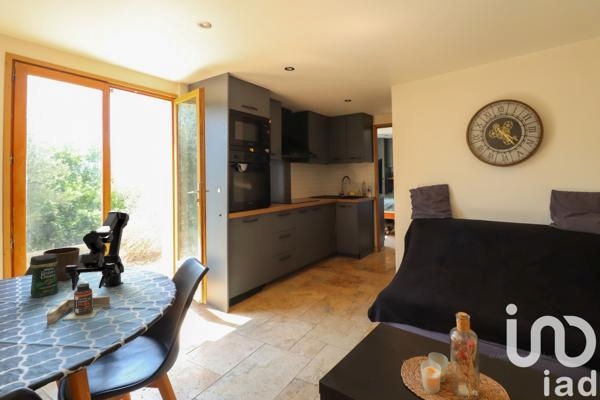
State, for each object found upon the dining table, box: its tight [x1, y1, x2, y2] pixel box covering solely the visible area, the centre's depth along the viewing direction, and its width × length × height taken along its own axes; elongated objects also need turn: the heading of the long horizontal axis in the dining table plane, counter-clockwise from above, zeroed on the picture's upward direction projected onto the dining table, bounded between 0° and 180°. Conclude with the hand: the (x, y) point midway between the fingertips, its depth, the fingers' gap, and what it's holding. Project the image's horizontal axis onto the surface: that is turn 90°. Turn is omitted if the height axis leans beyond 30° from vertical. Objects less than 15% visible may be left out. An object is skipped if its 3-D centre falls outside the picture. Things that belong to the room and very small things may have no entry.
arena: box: [46, 295, 111, 325], centre depth 116 cm, size 14×16×4 cm
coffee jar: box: [29, 254, 59, 298], centre depth 134 cm, size 10×8×19 cm
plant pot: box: [42, 246, 81, 283], centre depth 153 cm, size 15×15×16 cm
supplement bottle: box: [73, 282, 94, 315], centre depth 116 cm, size 6×6×11 cm
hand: (86, 289), depth 118 cm, fingers open, 9 cm apart
